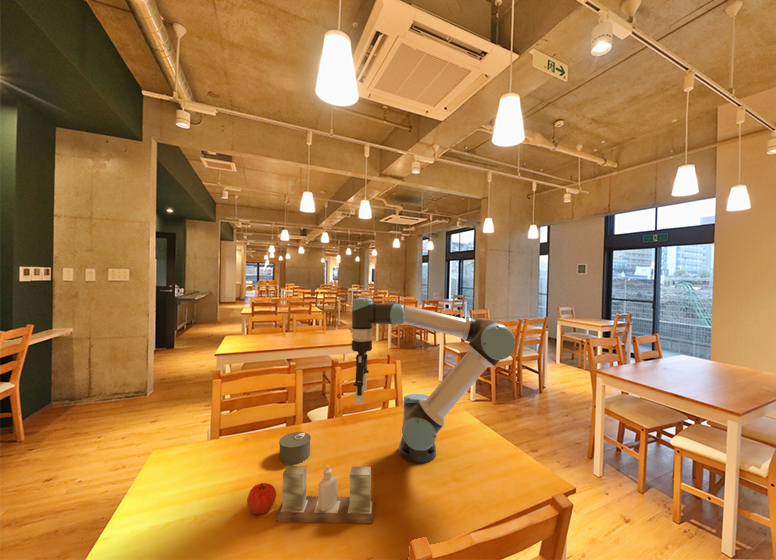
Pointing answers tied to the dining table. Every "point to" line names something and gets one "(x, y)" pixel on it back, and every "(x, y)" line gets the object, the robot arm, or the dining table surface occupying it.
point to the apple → (261, 498)
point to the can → (294, 448)
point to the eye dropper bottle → (327, 490)
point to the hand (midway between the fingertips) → (361, 397)
